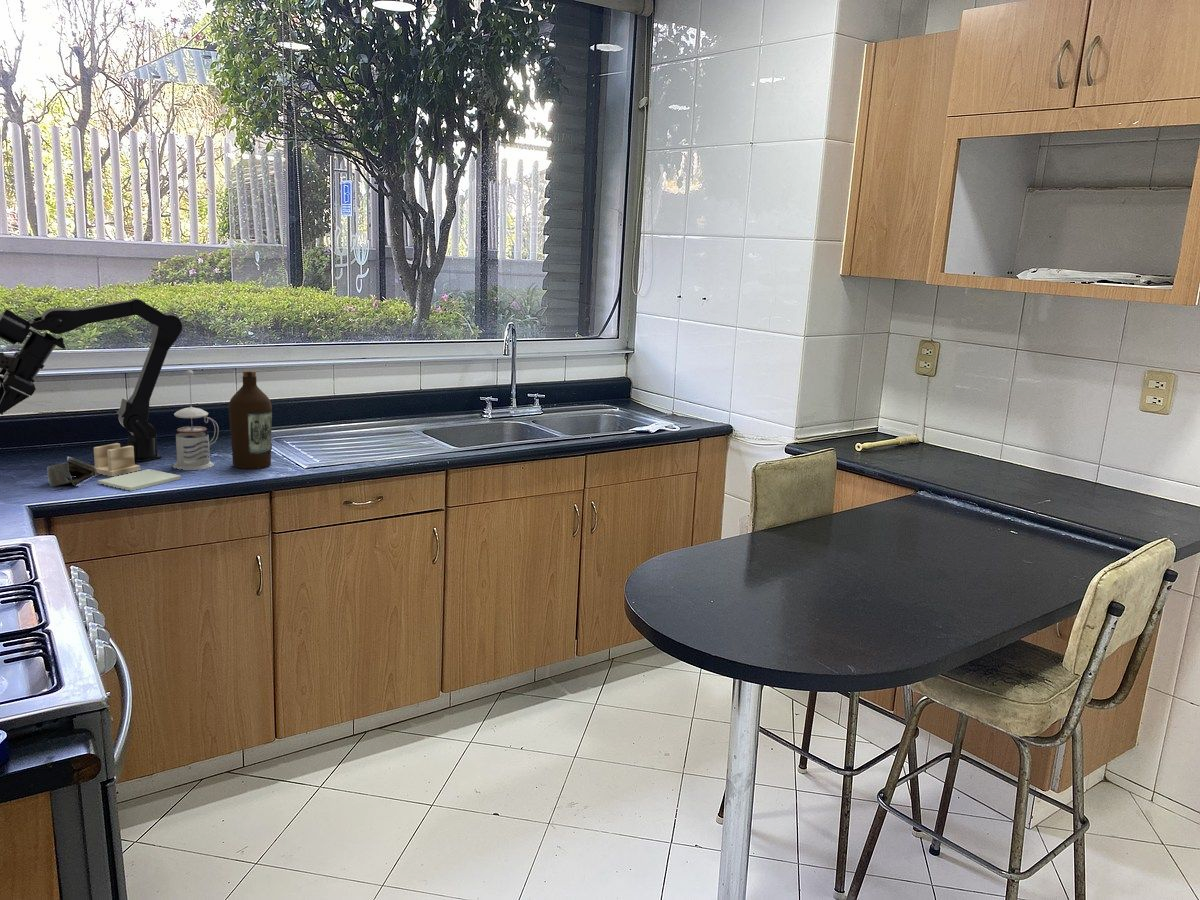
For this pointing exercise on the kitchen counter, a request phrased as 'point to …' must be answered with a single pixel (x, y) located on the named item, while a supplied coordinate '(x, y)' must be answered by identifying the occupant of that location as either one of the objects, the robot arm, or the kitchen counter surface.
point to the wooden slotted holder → (114, 459)
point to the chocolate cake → (70, 472)
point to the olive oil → (250, 425)
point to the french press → (193, 439)
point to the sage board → (139, 479)
